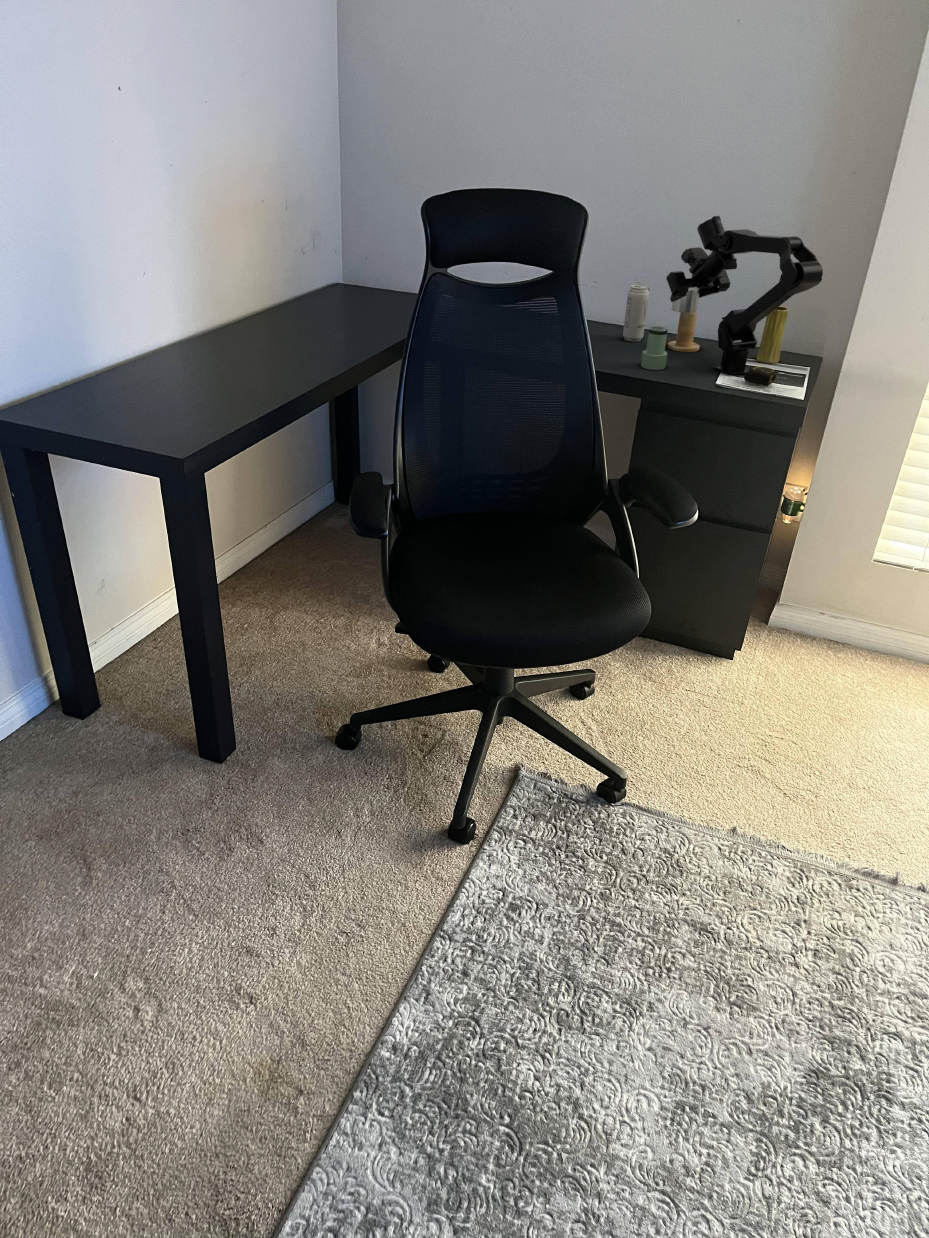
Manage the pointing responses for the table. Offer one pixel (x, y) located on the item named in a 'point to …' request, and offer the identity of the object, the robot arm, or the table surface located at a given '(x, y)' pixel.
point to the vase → (772, 336)
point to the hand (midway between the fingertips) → (682, 299)
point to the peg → (685, 333)
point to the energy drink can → (635, 313)
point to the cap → (687, 302)
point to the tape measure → (760, 376)
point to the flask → (655, 349)
